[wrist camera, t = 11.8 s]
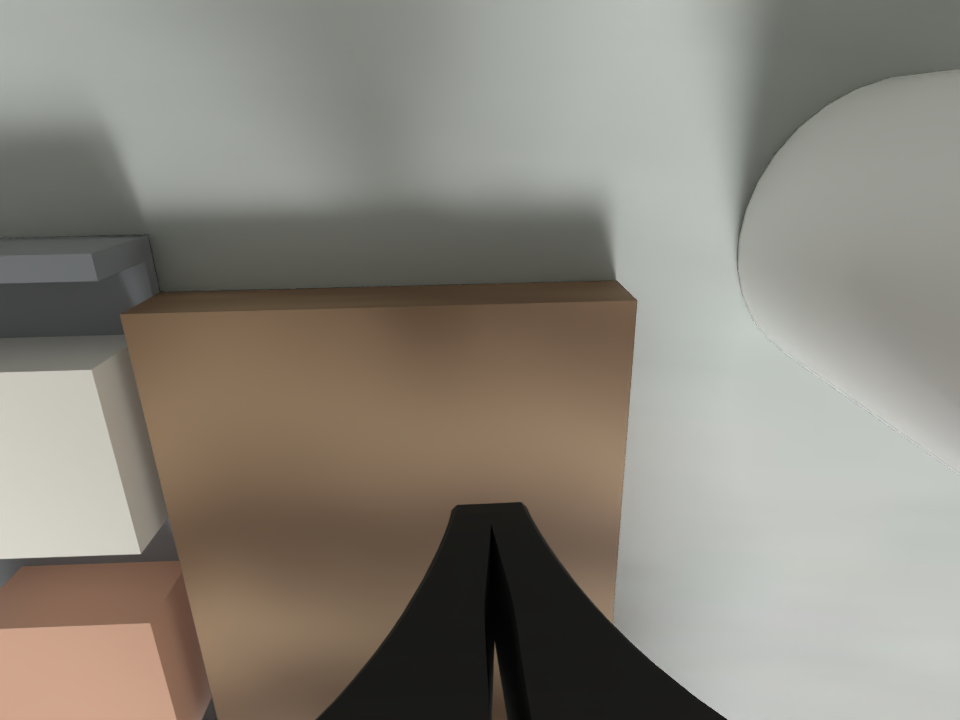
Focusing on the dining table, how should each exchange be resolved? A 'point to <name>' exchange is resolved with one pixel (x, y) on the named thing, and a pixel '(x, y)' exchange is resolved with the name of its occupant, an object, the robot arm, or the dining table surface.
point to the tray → (78, 326)
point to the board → (370, 457)
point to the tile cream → (74, 450)
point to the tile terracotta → (100, 644)
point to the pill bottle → (868, 254)
